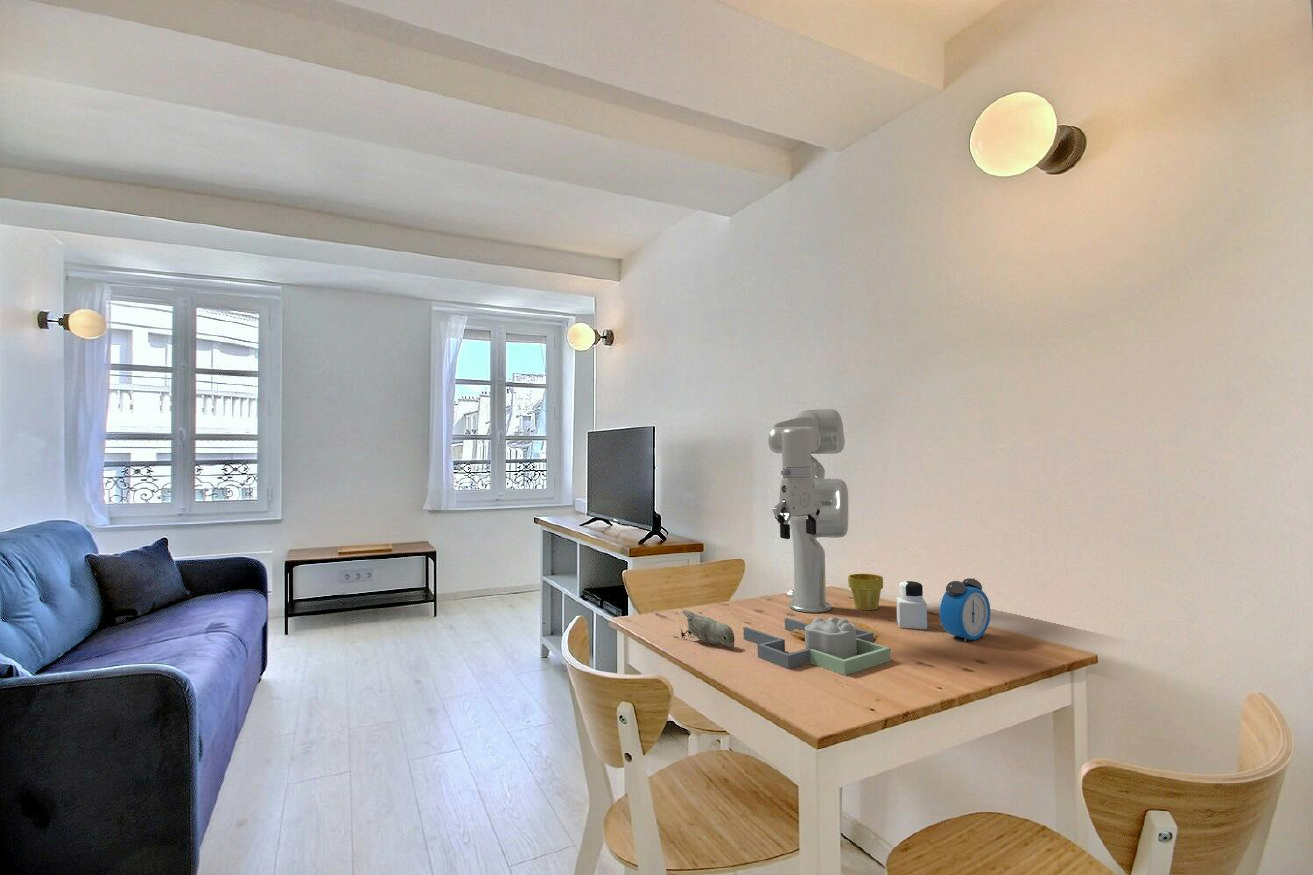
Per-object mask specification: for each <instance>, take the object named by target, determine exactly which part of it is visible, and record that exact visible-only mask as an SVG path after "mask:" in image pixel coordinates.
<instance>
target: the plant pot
mask: <svg viewBox="0 0 1313 875" xmlns="http://www.w3.org/2000/svg"><path fill="white" fill-rule="evenodd" d="M847 583H848V588H850V590H851V594H852V598H853V603H854V607H855V608H856V609H858V610H863V611H874V610H877V609H878V608H879V605H880V604H879V603H880V597H881V593H882V592H881V591H882V589H884V578H883V576H882V575H880V574H874V573H862V572H861V573H852V574H848V576H847Z"/></svg>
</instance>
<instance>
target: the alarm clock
mask: <svg viewBox="0 0 1313 875" xmlns="http://www.w3.org/2000/svg"><path fill="white" fill-rule="evenodd" d="M939 617H940V618H939V619H940V623H941V626H942V628H943V629H944V630H945V632H946V633H947V634H949V635H952V636H955V637H959V638H962V639H964V641H963V642H964V643H966V642H967V640H970V641H976V640H978V639H980V638H982V639H983V635H984V634H985V633H986V631H987V629H988V627H989V625H990V621H991V604H990V600H989V598H988V596H987V595H986V592H985V591H983V585H982V583H981V582H980V581H979V580H978V579H976V578H975V577H974V578H972V577H971V578H969V577H967V578H965V579H963V580H962V581H959V580H952V581H950V582H948V583H947V584H946V587H945V593H944V594H943V596H942V598H941V601H940V607H939Z"/></svg>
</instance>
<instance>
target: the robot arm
mask: <svg viewBox="0 0 1313 875" xmlns="http://www.w3.org/2000/svg"><path fill="white" fill-rule="evenodd" d="M767 438H768V440H767V441H768V447H769V449H770V451H772V452H773V453H774V454H782V455H781V456H782V457H781V458H782V459H781V460H782V463H781V465H782V469H781V470H780V475H782V479H781V482H780V488H779V502H778V503H777V504H776V505H775V506H774V507H773V508H772V513H773V515H774V518H775V519H776V520H777V524H779V537H780V538H781V539H784V540H790V539H791V534H792V543H793V544H792V545H793V576H794V577H793V579H794V580H793V581H794V584H793V588H794V589H790V590H789V592H787V593H786V596H787V597H788V598H792V599H791V600H792V601H790V602H789V608H790V609H792V610H794V611H796V612H804V613H826V612H829V611H830V610H832V604H831V603H830V602H828V601H827V592H826V591H827V587H826V584H827V583H826V552H825V549H824V547H823V546H822V545H821V543H820V542H819V541H818V538H831V539H833V538H837V539H838V538H840V539H841V538H844V537H845V536H846V535H847V534H848V531H849V489H848V485H847V484H846V482H845V481H844V480H843V479H840V478H825V474H826V471H825V470H826V469H825V467H824V466H823V464H822V463H821V462H820V461H819V460H818V459H817V458H816V457H814V456H813V455H817V454H818V455H821V454H822V455H826V454H828V455H829V454H830V455H831V454H840V453H841V452H843V450H844V448H845V444H846V443H845V432H844V424H843V419H842V416H841V414H840V413H839V412H838V411H837V410H836V409H833V408H828V409H827V408H826V409H825V408H824V409H823V408H822V409H804V410H801V411H800V412H799V413H798V414H797V415H796V416H795V418H794V417H793V418H790V419H788V420H787V419H786V420H783V421H780V422H777V423H775V424H774V425H773V426H772V427H771V429H770V431H769V434H768V437H767Z"/></svg>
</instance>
